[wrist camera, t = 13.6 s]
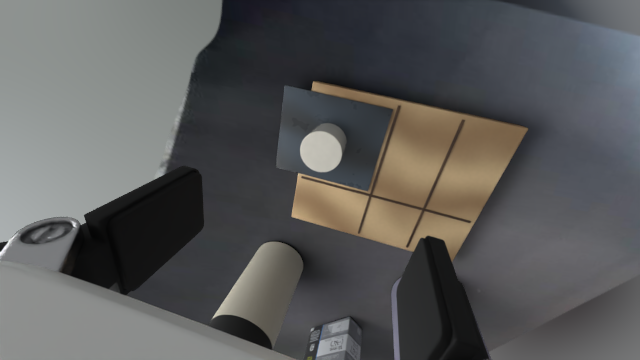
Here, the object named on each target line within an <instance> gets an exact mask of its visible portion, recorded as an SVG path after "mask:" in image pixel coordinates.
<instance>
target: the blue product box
mask: <svg viewBox="0 0 640 360" xmlns="http://www.w3.org/2000/svg"><path fill="white" fill-rule="evenodd" d="M361 338H362V329H361V328H360V327H359V326H358V325H357V324H356V323H355V322H354V320H353V319H352V318H351V317H347V318H344V319H340V320H337V321H334V322H331V323H328V324H325V325H321V326H318V327H315V328H312V329H311V332H310V336H309V340H308V344H307V348H306V352H305V356H304V359H303V360H360V351H361Z"/></svg>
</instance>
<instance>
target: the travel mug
mask: <svg viewBox="0 0 640 360" xmlns="http://www.w3.org/2000/svg"><path fill="white" fill-rule="evenodd" d="M302 271H303V261H302V258H301V257H300V255H299V254H298V252H297V251H296V250H295V249H293V248H292V247H290V246H289V245H287V244H284V243H281V242H268V243H265V244H263V245H262V246H261V247H260V248H259V249H258V251H257V252H256V254H255V255H254V257H253V258H252V260H251V261H250V263H249V264H248V266H247V267H246V269H245V270H244V272H243V273H242V275H241V276H240V278H239V279H238V281H237V282H236V284H235V285H234V287H233V288H232V290H231V291H230V293H229V294H228V296H227V297H226V299H225V300H224V302H223V303H222V305H221V306H220V308H219V309H218V311H217V312H216V314H215V315H214V317H213V318H212V320H211V321H210V323H209V324H208V326H209V327H212V328H214V329H217V330H220V331H222V332H225V333H228V334H230V335H233V336H236V337H238V338H241V339H244V340H246V341H249V342H252V343H254V344H257V345H260V346H262V347H265V348H267V349H270V350H273V347H274V345H275V342H276V339H277V337H278V334H279V331H280V329H281V326H282V323H283V321H284V318H285V316H286V313H287V310H288V308H289V305H290V302H291V300H292V297H293V294H294V292H295V289H296V287H297V284H298V281H299V279H300V276H301V273H302Z"/></svg>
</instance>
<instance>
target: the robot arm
mask: <svg viewBox="0 0 640 360" xmlns="http://www.w3.org/2000/svg"><path fill="white" fill-rule="evenodd" d="M84 217H85V220H86V223H84V224H83V225H80V223H79V221H78V220H76V219H74V218H70V217H55V218H49V219H44V220H41V221H37V222H34V223H32V224H30V225H27V226H25V227H24V228H22V229H20V230H19V231H17V232H16V233H15V234H14V235H13V236H12V238H11V239H10V240H9V241H7V242H2V243H0V360H296V359H294V358H291V357H288V356H286V355H283V354H281V353H278V352H275V351H273V350H270V349H267V348H265V347H262V346H260V345H257V344H254V343H252V342H249V341H246V340H244V339H241V338H238V337H236V336H233V335H230V334H228V333H225V332H222V331H220V330H217V329H214V328H212V327H209V326H206V325H204V324H201V323H198V322H196V321H193V320H190V319H188V318H185V317H182V316H179V315H177V314H174V313H171V312H169V311H166V310H163V309H161V308H158V307H155V306H152V305H150V304H147V303H144V302H142V301H139V300H136V299H133V298H131V297H128V296H126V295H127V294H128V293H129V292H130V291H134V290H136V289H137V288H138V287H140V286H141V285H142V284H143V283H144V282H145V281H146V280H147V279H148V278H149V277H151V276H152V275H153V274H154V273H155V272H156V271H157V270H158V269H159V268H160V267H162V266H163V265H164V264H165V263H166V262H167V261H168V260H169V259H170V258H172V257H173V256H174V255H175V254H176V253H177V252H178V251H179V250H180V249H181V248H183V247H184V246H185V245H186V244H187V243H188V242H189V241H190V240H191V239H193V238H194V237H195V236H196V235H197V234H198V233H199V232H200V231H201V230H202V228H203V226H204V215H203V193H202V176H201V174H199V171H198V170H197V169H194V168H190V167H187V166H181V167H179V168H177V169H175V170H173V171H171V172H169V173H167V174H165V175H163V176H161V177H159V178H157V179H155V180H153V181H151V182H149V183H147V184H145V185H143V186H141V187H139V188H137V189H135V190H133V191H131V192H129V193H127V194H125V195H123V196H121V197H119V198H117V199H115V200H113V201H111V202H109V203H107V204H105V205H103V206H101V207H99V208H97V209H95V210H93V211H91V212H89V213H87V214H85V215H84ZM396 298H397V316H398V335H399V353H400V360H490V359H489V356H488V353H487V350H486V347H485V345H484V342H483V339H482V336H481V334H480V331H479V328H478V325H477V322H476V320H475V317H474V314H473V311H472V309H471V306H470V303H469V300H468V297H467V295H466V292H465V289H464V287H463V285H462V283H461V282H460V281H458V279H457V276H456V273H455V270H454V267H453V264H452V261H451V258H450V256H449V253H448V250H447V247H446V244H445V241H444V240H442V239H439V238H435V237H432V236H426V237H425V238H420V240H419V242H418V244H417V246H416V248H415V250H414V252H413V254H412V256H411V259H410V261H409V263H408V265H407V267H406V269H405V271H404V273H403V275H402V278H401V280H400V282H399V284H398V287H397V292H396Z"/></svg>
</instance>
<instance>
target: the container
mask: <svg viewBox="0 0 640 360" xmlns="http://www.w3.org/2000/svg"><path fill="white" fill-rule="evenodd" d="M401 278H402V277H401ZM401 278H399V279H398V280H397V281H396V282H395V283H394V285H393V287H392V291H391V301H392V319H393V338H394V356H395V360H400V353H399V335H398V316H397V298H396V292H397V287H398V284H399V282H400V280H401ZM470 306H471V305H470ZM471 309H472V308H471ZM473 314H474V313H473ZM474 317H475V316H474ZM475 320H476V318H475ZM476 322H477V321H476ZM477 325H478V324H477ZM478 328H479V326H478ZM479 331H480V329H479ZM480 334H481V331H480ZM481 336H482V334H481ZM482 339H483V337H482ZM483 342H484V339H483ZM484 345H485V347H486V344H485V342H484ZM486 350H487V353H488V356H489V359H490V360H491V357H490V355H489V352H488V349H487V347H486Z"/></svg>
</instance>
